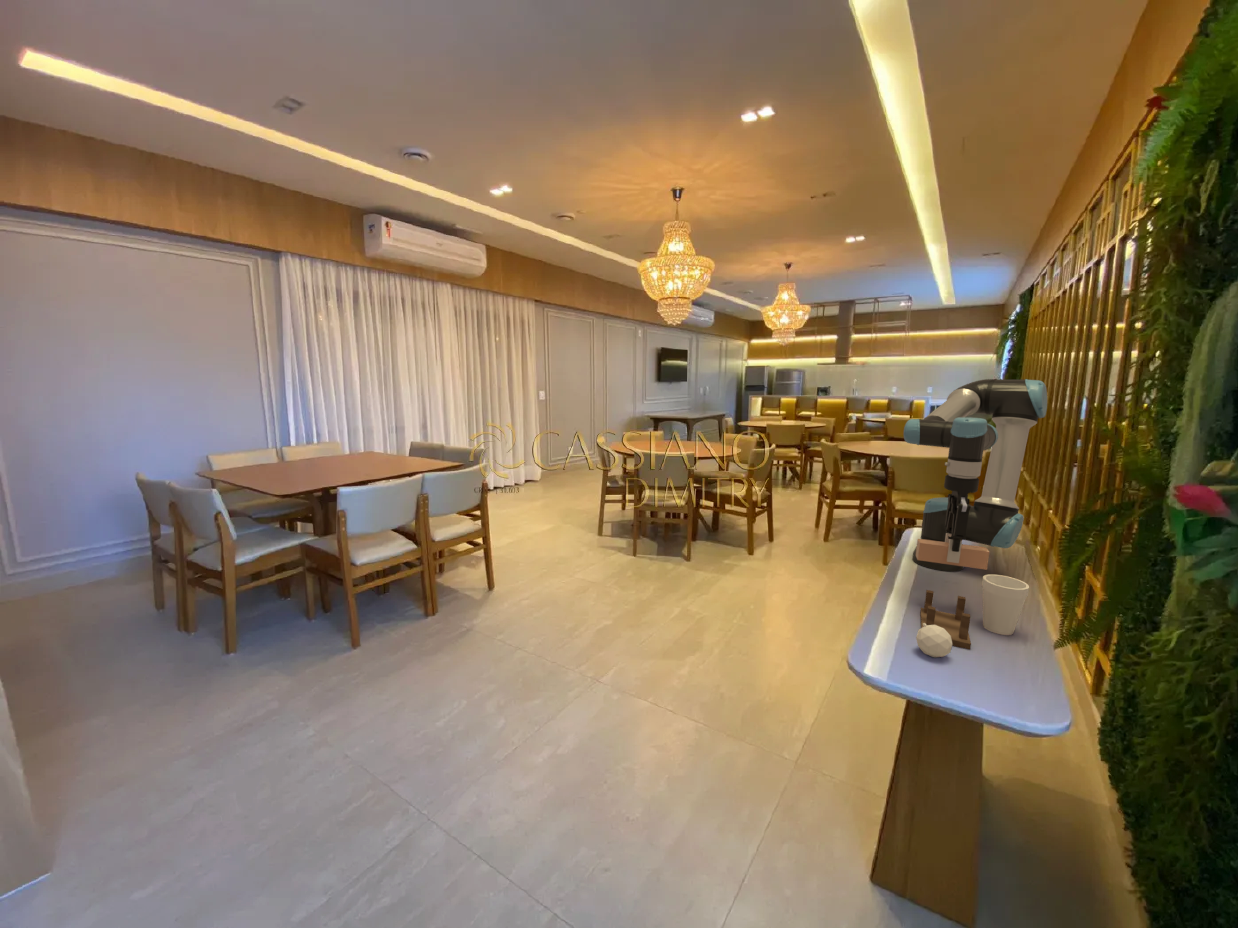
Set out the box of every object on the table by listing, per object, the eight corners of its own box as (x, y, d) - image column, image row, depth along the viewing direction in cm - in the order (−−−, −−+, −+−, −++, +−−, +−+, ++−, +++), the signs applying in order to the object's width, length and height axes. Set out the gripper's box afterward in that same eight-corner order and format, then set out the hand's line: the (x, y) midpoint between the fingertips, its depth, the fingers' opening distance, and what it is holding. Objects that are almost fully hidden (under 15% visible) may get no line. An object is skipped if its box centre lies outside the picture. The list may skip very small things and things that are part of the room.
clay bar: (917, 560, 139) (919, 542, 138) (915, 555, 142) (917, 538, 141) (986, 569, 133) (989, 551, 132) (982, 564, 136) (985, 547, 135)
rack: (920, 612, 138) (923, 586, 136) (963, 621, 133) (967, 595, 132) (921, 638, 124) (925, 610, 123) (970, 649, 119) (974, 620, 118)
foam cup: (1008, 641, 123) (1016, 592, 121) (968, 624, 131) (975, 578, 129) (1028, 632, 127) (1036, 585, 125) (988, 617, 136) (995, 572, 133)
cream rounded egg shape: (932, 664, 113) (912, 630, 115) (924, 659, 120) (905, 627, 122) (963, 653, 111) (942, 618, 114) (953, 648, 118) (934, 615, 121)
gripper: (939, 469, 142) (929, 547, 146) (952, 480, 127) (941, 567, 131) (970, 471, 139) (959, 551, 144) (988, 483, 124) (975, 572, 128)
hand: (950, 558), depth 137 cm, fingers closed on clay bar, 4 cm apart
